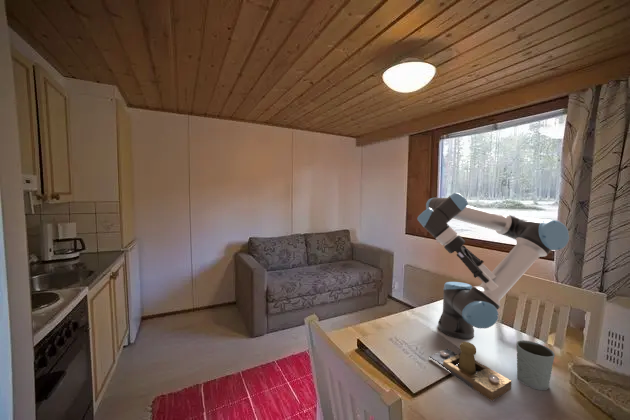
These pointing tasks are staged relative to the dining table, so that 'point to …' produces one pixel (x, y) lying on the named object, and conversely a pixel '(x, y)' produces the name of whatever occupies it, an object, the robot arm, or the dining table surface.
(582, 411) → the dining table surface
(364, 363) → the dining table surface
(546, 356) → the grey green cup
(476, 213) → the robot arm
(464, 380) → the slotted wooden plate
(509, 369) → the dining table surface
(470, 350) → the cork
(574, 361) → the dining table surface
